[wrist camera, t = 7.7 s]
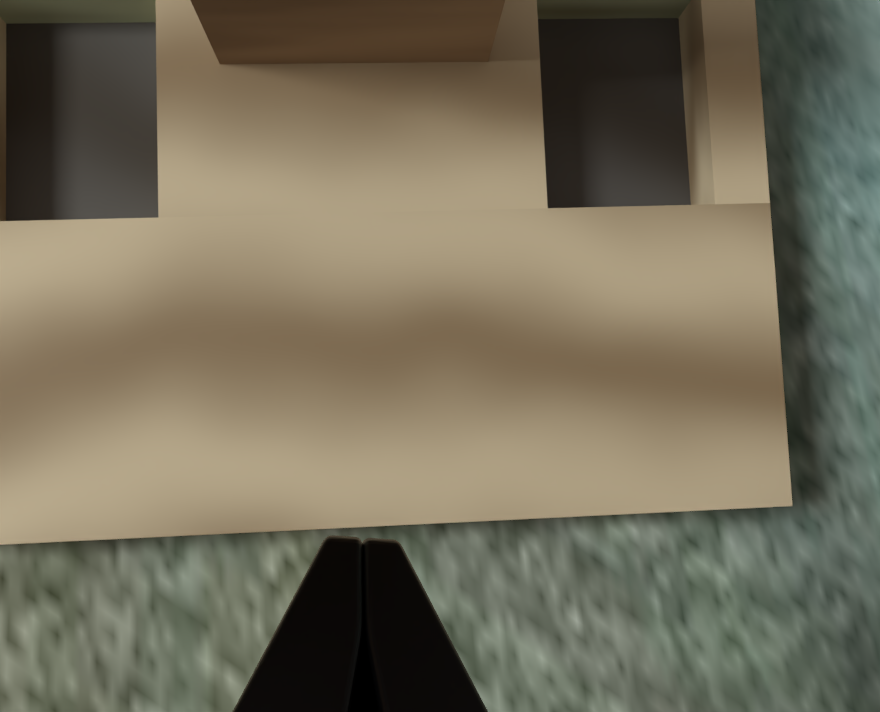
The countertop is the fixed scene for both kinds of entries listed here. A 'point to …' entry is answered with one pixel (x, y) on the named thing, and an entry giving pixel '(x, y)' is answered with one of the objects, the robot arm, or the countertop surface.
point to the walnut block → (349, 30)
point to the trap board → (383, 276)
